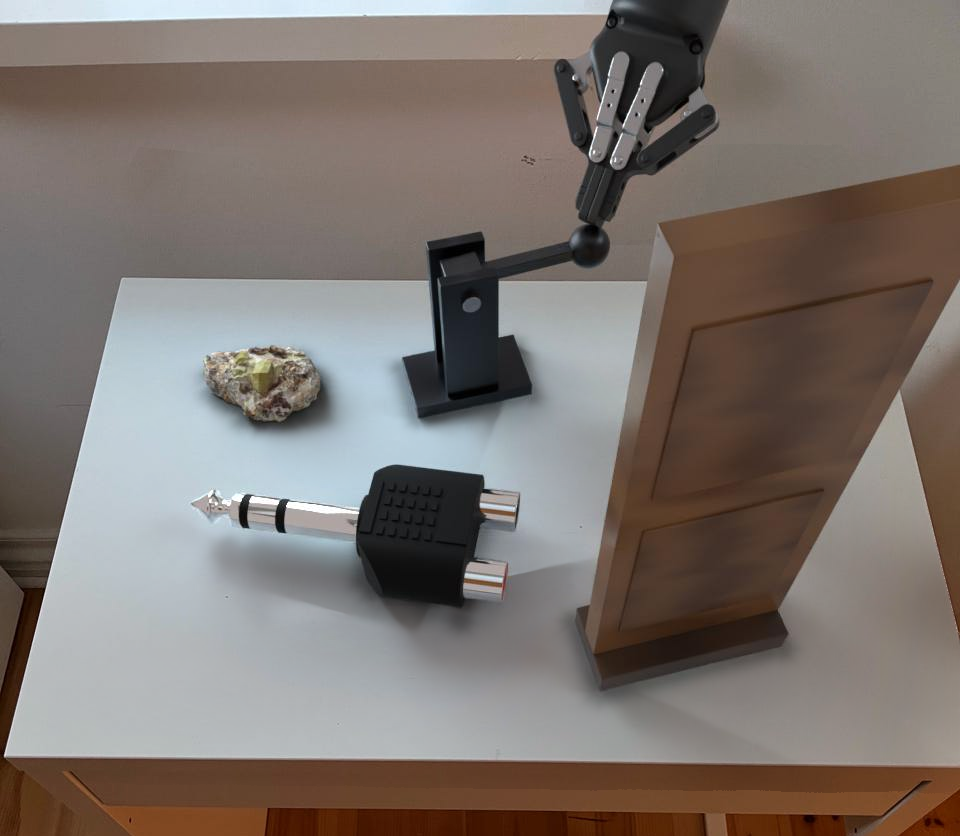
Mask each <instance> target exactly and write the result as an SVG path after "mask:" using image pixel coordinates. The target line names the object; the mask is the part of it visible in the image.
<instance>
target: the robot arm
mask: <svg viewBox="0 0 960 836" xmlns="http://www.w3.org/2000/svg"><path fill="white" fill-rule="evenodd" d="M729 1H730V0H612V1H611V4H610V7H609V9H608V14H607V18H606V21H605V24H604V26H603V28H602V29H601V31H600V32H599V33H598V34H597V35H596V36H595V37H594V39H593V40H592V41H591V43H590V46H589V50H588V52H586V53H584V54H582V55H580V56H578V57H575V58H573V59H572V60H569V61H568V60H567V59H565V58H560V59H557V60H556V62H555V63H554V65H553V69H552V70H553V75H554V79H555V84H556V87H557V91H558V94H559V99H560V102H561V107H562V111H563V114H564V119H565V122H566V126H567V131H568V135H569V140H570V142H571V144H572V145H573V146H575V147H576V148H577V149H578V150H579V152H581V153H582V154H584V155H585V156H586V158H587V167H586V169H585V172H584V174H583V178H582V180H581V183H580V186H579V188H578V192H577V194H576V197H575V202H574V203H575V204H574V205H575V207H574V208H575V209H576V210H577V211H578V215H577V218H578V220H579V221H581V222H582V223H584V224H590V225H593V226H596V227H598V228H601V227H602V228H603V226H604V224H605V222H608V223H610V222H611V221H612V220H613V219H614V217H615V216H616V213H617V210H618V208H619V205H620V202H621V200H622V197H623V194H624V192H625V189H626V187H627V184H628V182H629V180H630V179H631V178H632V177H635V176H643V175H647V176H655V175H656V174H658V173H659V172H660V171H662V170H664V169H665V168H667V166H669V165H671V163H673V162H674V161H676V160H677V159H679V158H680V157H681V156H683V155H685V153H687V152H688V151H690V150H692V149H693V148H694V147H695V146H697V145H698V144H699V143H701V142H702V141H704V140H705V139H706V138H707V137H709V136H710V135H712V134H713V133H714V132H716V131H717V130H718V128H719V126H720V118H719V116H718V114H717V111H716V109H715V107H714V106H713V105H712V104H710V103H709V101H708V100H707V98H706V96H705V93H704V91H703V88H704V86H705V84H706V70H705V69H706V62H707V59H708V56H709V54H710V51H711V48H712V46H713V44H714V41H715V39H716V35H717V33H718V30H719V28H720V25H721V23H722V20H723V17H724V15H725V13H726V10H727V7H728V5H729ZM591 74H592V75H593V81H594V85H595V90H596V94H597V100H598V103H599V104H600V105H599V110H598V112H597V117H596V128H595V131H594V134H593V129H592V125H591V122H590V121H591V120H590V117H589V113H588V109H587V105H586V101H585V97H584V94H585V93H586V92H587V91H589V88H590V76H591ZM686 105H687V106H686ZM685 106H686V107H685ZM683 107H685V108H684V109H683V110H682V111H681V114H680V122H678V123H677V124H675V126H673V127H671V128H670V129H669V130H668V131H667V132H665V133H663V134H662V135H661V136H659V137H658V138H656V139H655V140H654V141H653V142H651V143H650V140H651V137H652V135H653V133H654V132H655V129H656V127H658V126H660V125H661V124H663V123H664V122H666V121H667V120H668V119H669V118H671V117H672V116H673V115H675V114H676V113H677V112H679V110H681V109H682V108H683ZM649 143H650V144H649ZM648 144H649V145H648Z"/></svg>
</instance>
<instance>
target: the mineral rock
mask: <svg viewBox="0 0 960 836" xmlns="http://www.w3.org/2000/svg"><path fill="white" fill-rule="evenodd" d="M202 362H203V367H204V368H203V375H204V378H205V383H206V386H208V387H209V388H210V389H211V390H212V392H213V394H214V395H216V396H217V397H219V398H222V399H223V400H224V401H225V402H226V403H228V404H231V405H235V406H240V407H241V408H242V410H243V412H242V415H244V416H245V417H247V418H250V419H251V420H252V421H262V422H265V423H267V422H272V421H273V422H274V421H276V422H278V423H282V422H284V421H285V420H286V419H287V418H288V416H290V415H291V413H292V412H298V411H300V410H303V409H305V408H308V407H309V406H310V405H311V403H312V402H313V401H315V400H317V399H318V398H317V395H318V394H319V392H320V390H321V389H322V388H321V381H322V380H321V378H322V376H321V375H320V373H318V370H317V369H316V367H315V364H314V363H313V360H312V359H311V358H310V357H307V353H306V352H304V351H302V350H296V348H295V347H293V346H288V347H287V348H286V347H279V346H277V345H273V344H271V345H269V346H266V347H263V348H261V347H257V346H254V347H249V348H248V347H247V348H243V349H242V348H241V349H237V350H235V351H227V352H225V351H213V352H212V353H210V354H209V355H206V356H205V358H204V359H203V360H202Z"/></svg>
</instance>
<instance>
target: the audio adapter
mask: <svg viewBox="0 0 960 836" xmlns="http://www.w3.org/2000/svg"><path fill="white" fill-rule="evenodd" d="M485 482H486V481H485V476H484V474H480V473H471V472H463V471H455V470H447V469H440V468H439V469H438V468H429V467H424V466H423V467H422V466H414V465H405V464H391V465H386V466H383V467H382V468H379V469H376V470H375V471H374V472H373V475H372V479H371V483H370V487H369V490H368V493H367V494H365V496H364V497H363V498H362V501H361V503H360V506H359V507H358V506H357V507H356V506H351V505H350V506H349V505H343V504H334V503H328V502H327V503H326V502H318V501H312V500H311V501H310V500H303V499H295V498H283V497H279V496H271V495H263V494H251V493H247V492H236V493H234V494H233V495H232V497H231V498H230V499H225V498H224V497H223V496H222V494H221V492H220V491H219V490H218V489H216V488H215V489H212V490H209V491H208V492H206V493H204V494H202V495H201V496H199V497H197V498H196V499H193V500H192V501H190V503H189V505H190V507H191V508H192V509H193V510H194V511H195V512H196V513H197V514H198V515H199V516H201V518H203V519H204V520H205V521H206V522H207V523H208V524H209V525H212V526H214V525H216V524H218V522H219V521H220V519H222V518H226V519H228V520H229V523H230V525H231V526H232V527H234V528H236V529H243V530H246V529H247V530H251V531H258V532H266V533H273V534H284V535H288V536H297V537H304V538H312V539H319V540H326V541H327V540H328V541H334V542H343V543H349V544H350V543H351V544H355V548H356V554H357V556H358V558H360V561H361V565H362V569H363V573H364V576H365V579H366V581H367V582H368V584H369V585H370V587H371V588H372V590H373V591H374V592H375V593H376V594H377V595H378V596H379V597H381V598H386V599H387V598H388V599H394V600H402V601H409V602H415V603H424V604H432V605H439V606H445V607H446V606H447V607H451V608H460V609H461V608H463V606H464V604H465V602H466V599H469V600H475V601H483V602H491V603H499V604H502V603H503V602H504V598H505V594H506V591H507V590H506V589H507V583H508V574H509V562H508V561H507V560H499V559H492V558H483V557H477V556H475V554H476V549H477V544H478V541H479V540H478V539H479V535H480V529H487V530H495V531H502V532H510V533H515V532H516V530H517V526H518V522H519V514H520V508H521V491H517V490H514V491H513V490H507V489H499V488H490V487H485V485H486V483H485Z"/></svg>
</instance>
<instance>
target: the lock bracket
mask: <svg viewBox="0 0 960 836" xmlns="http://www.w3.org/2000/svg"><path fill="white" fill-rule="evenodd" d="M474 251H475V252H476V255H477V257H478V260H479V263H482V262H486V238H485V236H484V234H483V231H481V230H480V231H476V232H470V233H464V234H460V235H454V236H449V237H444V238H438V239H434V240H428V241H425V255H426V265H427V277H428V279H427V280H428V289H429V291H428V292H429V301H430V303H429V304H430V314H431V315H430V316H431V326H432V338H433V350H431V351H426V352H420V353H415V354H411V355H406V356H402V357H401V362H402V368H403V372H404V376H405V378H406V383H407V386H408V390H409V393H410V396H411V399H412V402H413V407H414V409H415V412H416V416H417V419H421V418H425V417H430V416H435V415H440V414H445V413H450V412H454V411H459V410H463V409H469V408H472V407H473V408H474V407H479V406H482V405H487V404H492V403H497V402H501V401H507V400H511V399H515V398H520V397H526V396H530V395H532V394H533V383H532V379H531V377H530V375H529V373H528V370H527V366H526V364H525V361H524V359H523V356H522V353H521V351H520V347H519V346H518V343H517V340H516V337H515V334H509V335H504V336H500V335H499V334H500V332H499V331H500V327H499V325H500V322H499V321H500V320H499V319H500V317H499V316H500V315H499V314H500V313H499V311H500V303H499V302H500V300H499V299H500V279H499V275H498V272H497V270H496V267H491V268H486V269H481V270H476V271H470V272H465V273H460V274H455V275H450V276H445V277H442V274H441V267H440V260H442V259H446V258H450V257H454V256H458V255H462V254H466V253H470V252H474Z"/></svg>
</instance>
